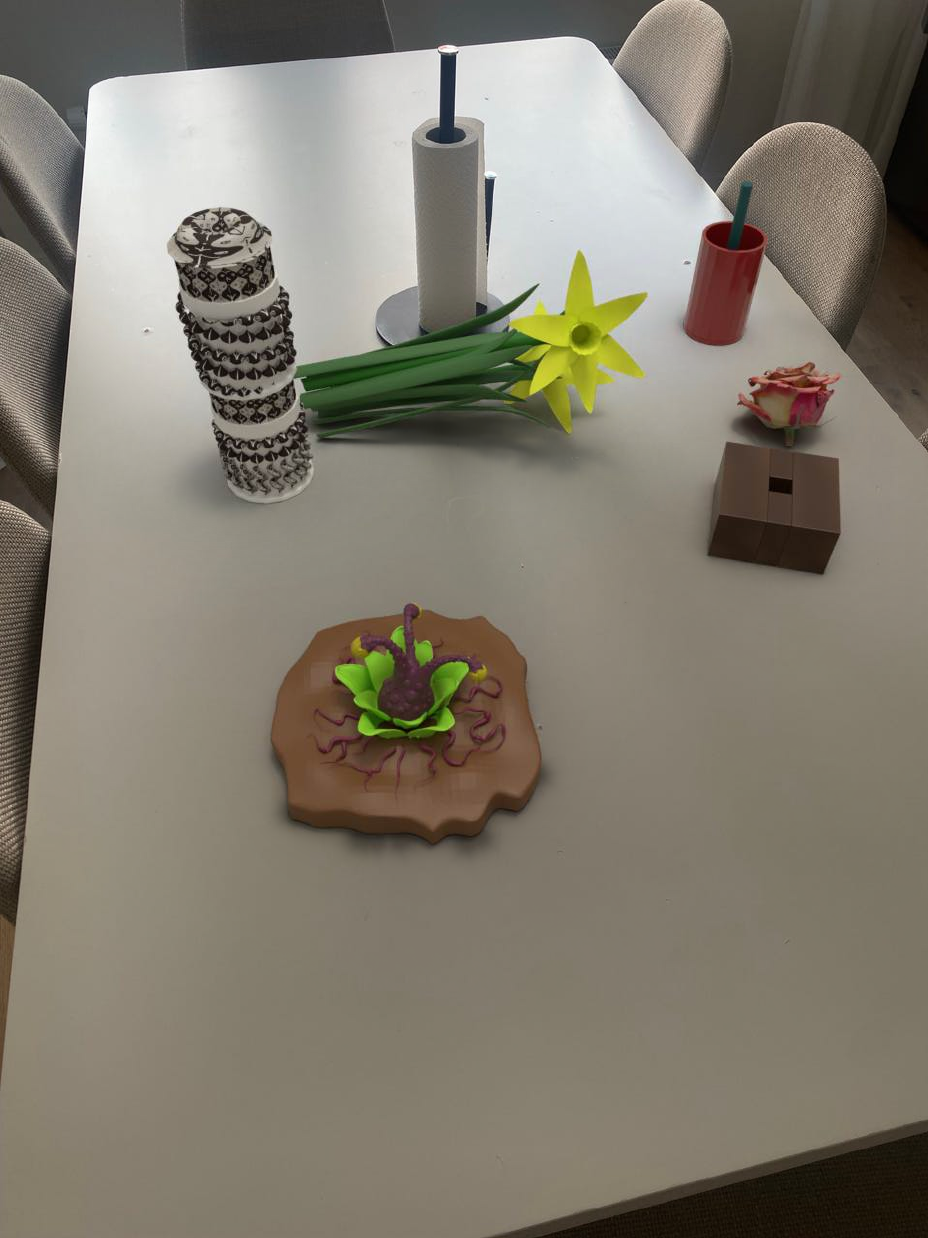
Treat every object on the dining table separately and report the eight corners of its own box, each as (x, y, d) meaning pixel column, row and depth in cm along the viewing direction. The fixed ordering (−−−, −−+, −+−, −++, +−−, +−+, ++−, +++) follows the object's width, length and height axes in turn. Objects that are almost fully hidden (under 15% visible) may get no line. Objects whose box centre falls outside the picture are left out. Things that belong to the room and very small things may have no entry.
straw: (720, 322, 105) (753, 181, 92) (719, 328, 104) (753, 186, 92) (709, 321, 105) (741, 180, 93) (709, 327, 104) (741, 185, 92)
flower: (856, 444, 88) (861, 359, 86) (781, 449, 85) (785, 361, 83) (786, 442, 97) (789, 365, 95) (715, 447, 94) (717, 367, 92)
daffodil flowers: (335, 364, 102) (651, 299, 93) (342, 490, 99) (668, 436, 91) (262, 292, 86) (636, 205, 77) (269, 441, 83) (656, 368, 74)
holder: (822, 499, 86) (839, 457, 82) (823, 574, 80) (841, 533, 76) (715, 482, 87) (726, 441, 84) (707, 555, 81) (719, 513, 77)
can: (745, 316, 106) (768, 224, 98) (742, 348, 102) (766, 255, 94) (686, 309, 107) (704, 217, 99) (681, 340, 103) (699, 247, 95)
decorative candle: (238, 518, 85) (170, 263, 65) (212, 459, 90) (142, 209, 71) (331, 489, 87) (292, 236, 68) (300, 434, 92) (255, 185, 73)
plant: (283, 633, 75) (260, 536, 67) (518, 619, 76) (524, 522, 68) (267, 857, 62) (235, 772, 54) (550, 838, 63) (562, 751, 55)
